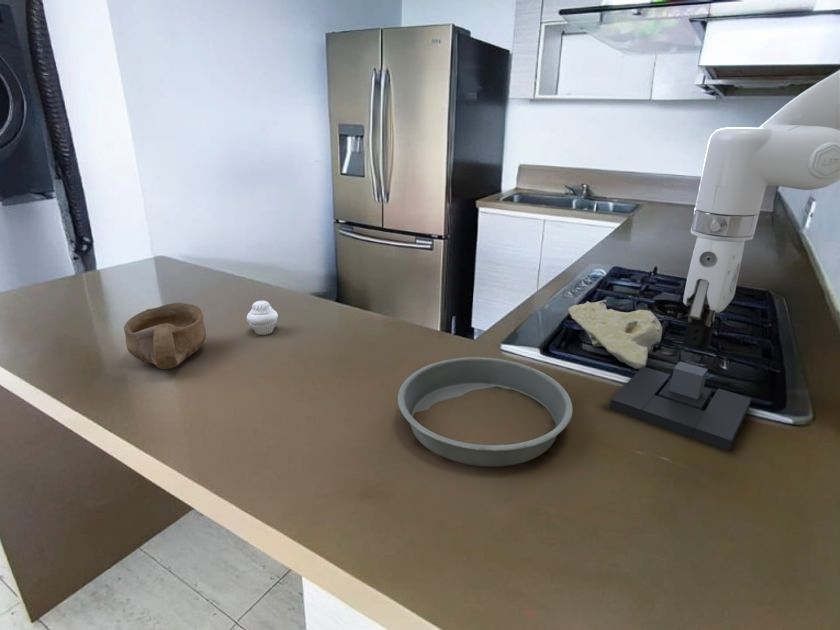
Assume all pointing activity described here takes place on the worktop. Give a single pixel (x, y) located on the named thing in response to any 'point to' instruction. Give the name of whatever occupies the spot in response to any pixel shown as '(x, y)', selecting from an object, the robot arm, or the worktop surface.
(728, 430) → the dark grey u-shaped block
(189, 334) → the bowl
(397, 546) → the worktop surface
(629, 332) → the cheese
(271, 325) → the muffin
